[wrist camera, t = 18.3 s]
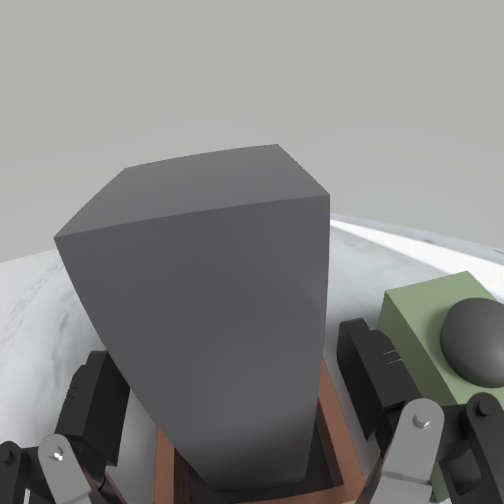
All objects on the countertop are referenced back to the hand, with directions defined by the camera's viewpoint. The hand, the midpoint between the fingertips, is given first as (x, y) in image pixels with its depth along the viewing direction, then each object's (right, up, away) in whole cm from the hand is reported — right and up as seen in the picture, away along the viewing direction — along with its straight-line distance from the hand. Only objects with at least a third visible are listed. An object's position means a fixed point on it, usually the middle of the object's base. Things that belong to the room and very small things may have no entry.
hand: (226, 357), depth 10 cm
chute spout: (+1, -8, +5) cm, 10 cm away
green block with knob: (+14, -7, +5) cm, 17 cm away
